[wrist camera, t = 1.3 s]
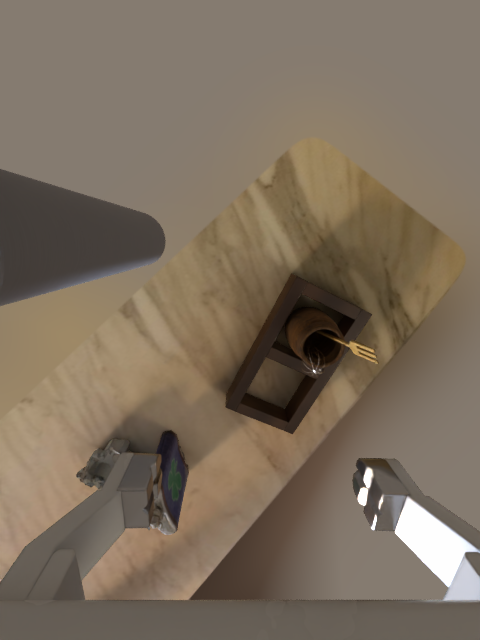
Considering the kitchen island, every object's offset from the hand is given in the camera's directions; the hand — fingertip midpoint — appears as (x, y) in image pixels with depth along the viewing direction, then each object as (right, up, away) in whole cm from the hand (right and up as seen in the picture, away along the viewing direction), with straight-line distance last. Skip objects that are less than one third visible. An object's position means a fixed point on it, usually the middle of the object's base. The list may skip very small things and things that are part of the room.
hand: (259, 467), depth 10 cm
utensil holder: (+8, +5, +24) cm, 25 cm away
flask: (-11, -15, +30) cm, 35 cm away
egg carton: (-19, -17, +30) cm, 39 cm away
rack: (+6, +1, +25) cm, 25 cm away
